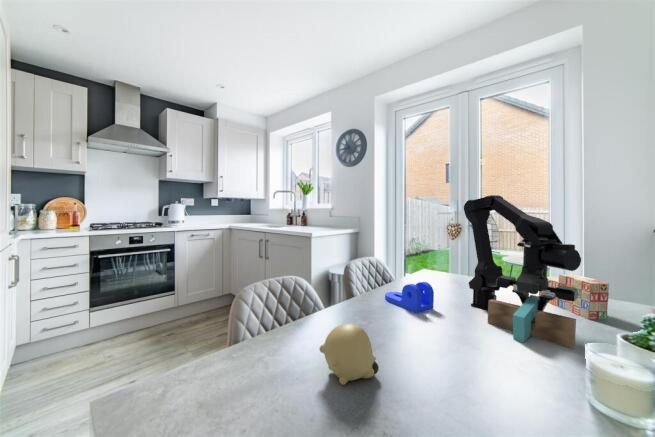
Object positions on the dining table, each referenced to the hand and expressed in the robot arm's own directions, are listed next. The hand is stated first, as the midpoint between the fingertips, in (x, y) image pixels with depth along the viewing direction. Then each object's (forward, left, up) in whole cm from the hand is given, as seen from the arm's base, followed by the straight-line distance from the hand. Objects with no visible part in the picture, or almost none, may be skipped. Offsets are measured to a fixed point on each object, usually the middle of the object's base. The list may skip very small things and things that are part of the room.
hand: (533, 315), depth 82 cm
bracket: (-36, -11, -4) cm, 38 cm away
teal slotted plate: (0, -5, -3) cm, 5 cm away
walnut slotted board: (0, -5, -4) cm, 6 cm away
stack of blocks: (+3, +32, -4) cm, 33 cm away
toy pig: (-17, -59, -4) cm, 62 cm away
